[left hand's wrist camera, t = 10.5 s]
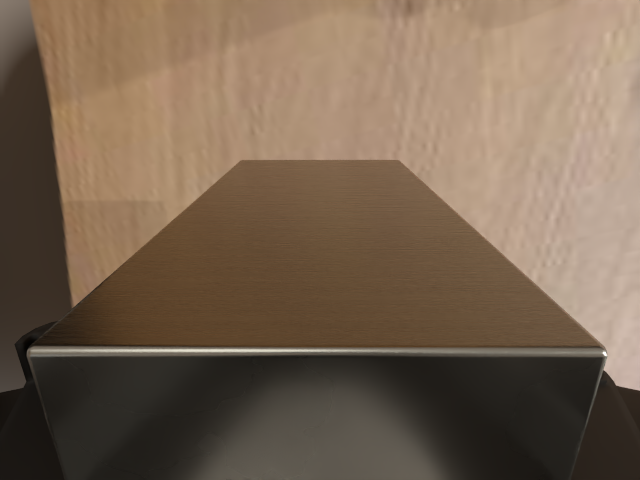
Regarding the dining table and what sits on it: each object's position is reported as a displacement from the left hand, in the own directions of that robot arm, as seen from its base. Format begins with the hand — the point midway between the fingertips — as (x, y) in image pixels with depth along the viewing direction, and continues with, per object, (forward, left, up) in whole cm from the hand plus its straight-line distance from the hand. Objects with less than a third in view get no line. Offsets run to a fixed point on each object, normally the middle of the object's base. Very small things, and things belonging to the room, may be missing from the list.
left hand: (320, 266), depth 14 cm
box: (+7, +2, -3) cm, 7 cm away
